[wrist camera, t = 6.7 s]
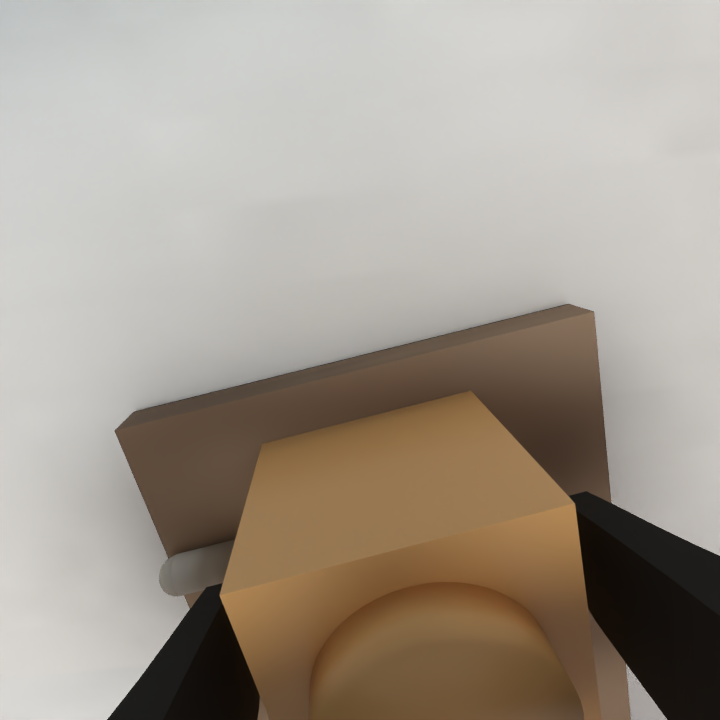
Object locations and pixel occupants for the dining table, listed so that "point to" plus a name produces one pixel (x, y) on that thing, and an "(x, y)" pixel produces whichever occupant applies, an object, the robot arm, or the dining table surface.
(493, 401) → the junction board
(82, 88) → the dining table surface
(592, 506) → the robot arm
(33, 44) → the dining table surface
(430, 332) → the dining table surface
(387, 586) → the cube with round boss
